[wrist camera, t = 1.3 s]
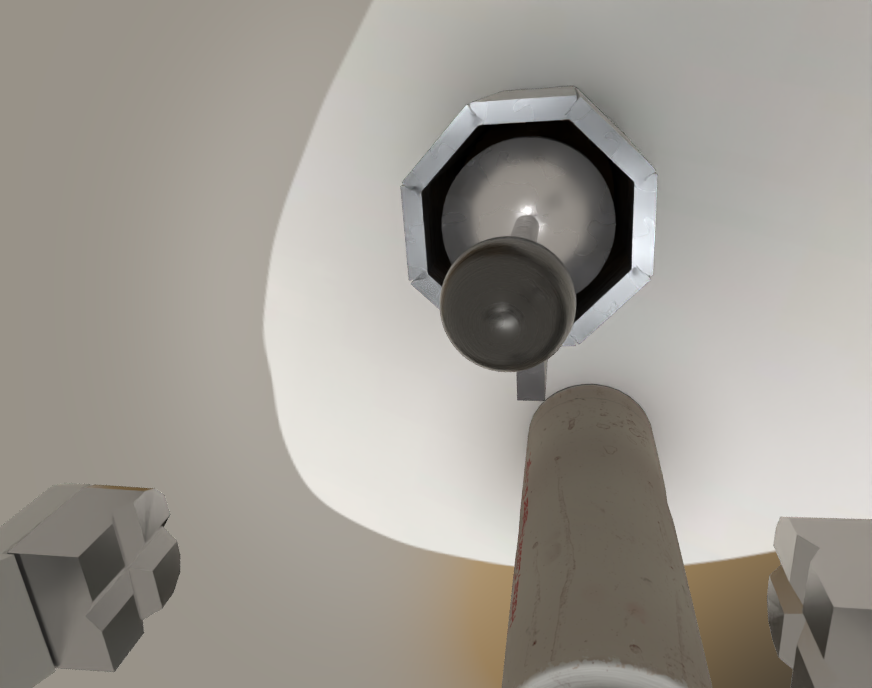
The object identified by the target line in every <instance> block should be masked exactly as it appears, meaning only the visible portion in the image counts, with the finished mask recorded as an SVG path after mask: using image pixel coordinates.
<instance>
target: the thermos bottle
mask: <svg viewBox="0 0 872 688" xmlns="http://www.w3.org/2000/svg"><path fill="white" fill-rule="evenodd" d="M502 688H712V684H711V679H710V675H709V671H708V667H707V663H706V658H705V654H704V650H703V645H702V641H701V637H700V633H699V629H698V624H697V620H696V616H695V612H694V607H693V603H692V599H691V594H690V590H689V586H688V581H687V577H686V573H685V569H684V564H683V560H682V556H681V552H680V547H679V543H678V539H677V535H676V531H675V526H674V523H673V519H672V516H671V513H670V510H669V507H668V504H667V497H666V490H665V484H664V480H663V475H662V471H661V467H660V462H659V458H658V454H657V450H656V445H655V441H654V437H653V433H652V428H651V424H650V422H649V420H648V418H647V416H646V414H645V412H644V411H643V410H642V408H641V407H640V406H639V405H638V404H637V403H636V402H635V401H634V400H633V399H631V398H630V397H629V396H627V395H625V394H624V393H622V392H620V391H618V390H615V389H612V388H609V387H606V386H600V385H579V386H574V387H569V388H567V389H564V390H562V391H559V392H557V393H556V394H554V395H552V396H551V397H549V398H548V399H547V400H546V401H545V402H544V403H543V404H542V405H541V406H540V407H539V408H538V410H537V411H536V413H535V414H534V416H533V418H532V421H531V423H530V428H529V434H528V442H527V452H526V461H525V471H524V480H523V490H522V499H521V509H520V522H519V534H518V543H517V551H516V558H515V567H514V576H513V586H512V595H511V604H510V615H509V623H508V633H507V643H506V652H505V662H504V672H503V681H502Z"/></svg>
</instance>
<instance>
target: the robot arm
mask: <svg viewBox="0 0 872 688" xmlns="http://www.w3.org/2000/svg"><path fill="white" fill-rule="evenodd" d="M169 516H170V511H169V508H168V505H167V501H166V498H165V495H164V494H163V493H161V492H160V491H158V490H156V489H155V488H140V487H126V486H110V485H90V484H75V483H63V484H57V485H52V486H51V487H50V488H48V489H47V490H46V491H45V492H43V493H42V494H41V495H40V496H38V497H37V498H36V499H35V500H33V501H32V502H31V503H30V504H28V505H27V506H26V507H25V508H23V509H22V510H21V511H20V512H19V513H17V514H16V515H15V516H13V517H12V518H11V519H10V520H8V521H7V522H6V523H4V524H3V525H2V526H1V527H0V688H33V687H34V686H35V685H37V684H38V683H40V682H41V681H42V680H44V679H45V678H47V677H48V676H50V675H51V674H53V673H54V672H55V668H61V669H75V670H90V671H105V672H115V671H116V669H117V668H118V667H119V665H120V664H121V663H122V661H123V660H124V659H125V657H126V656H127V655H128V653H129V652H130V651H131V649H132V648H133V647H134V646H135V644H136V643H137V642H138V640H139V639H140V638H141V636H142V635H143V634H144V627H143V620H144V619H145V618H147V617H149V616H150V615H152V614H154V613H155V612H157V611H159V610H160V609H162V608H163V607H164V605H165V604H166V602H167V601H168V600H169V598H170V597H171V596H172V594H173V592H174V590H175V587H176V584H177V580H178V577H179V574H180V552H179V547H178V543H177V540H176V539H175V538H174V537H173V536H172V535H171V534H170V533H169V532H168V531H167V530H166V529H165V528H164V526H165V524H166V522H167V520H168V518H169ZM774 548H775V550H776V552H777V555H778V557H779V559H780V562H781V564H782V565H780V566H779V567H778V568H777V569H776V570H775V571H774V572H773V573H772V574H771V575H770V576H769V585H768V595H767V603H768V620H769V626H770V630H771V635H772V640H773V642H774V645H775V648H776V651H777V654H778V657H779V658H780V659H781V660H782V661H784V662H785V663H786V664H787V665H788V666H790V667H791V668H792V669H793V674H792V681H791V688H872V519H845V518H811V517H780V519H779V521H778V524H777V526H776V531H775V538H774Z"/></svg>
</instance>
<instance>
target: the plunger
mask: <svg viewBox="0 0 872 688" xmlns="http://www.w3.org/2000/svg"><path fill="white" fill-rule="evenodd" d="M615 225H616V223H615V210H614V204H613V200H612V197H611V194H610V191H609V188H608V186H607V184H606V182H605V180H604V178H603V176H602V174H601V173H600V171H599V170H598V169H597V167H596V166H595V165H594V164H593V163H592V162H591V161H590V159H589V158H587V157H586V156H585V155H584V154H583V153H581V152H580V151H579V150H577V149H575V148H574V147H572V146H571V145H568V144H566V143H564V142H562V141H559V140H556V139H552V138H548V137H542V136H520V137H513V138H509V139H506V140H502V141H500V142H498V143H495V144H493V145H491V146H489V147H487V148H486V149H484V150H482V151H481V152H480V153H478V154H477V155H476V156H475V157H473V158H472V159H471V160H470V161H469V162H468V163H467V164H466V165H465V166H464V167H463V168H462V170H461V171H460V172H459V174H458V175H457V176H456V178H455V180H454V181H453V183H452V185H451V187H450V189H449V191H448V194H447V196H446V199H445V203H444V207H443V214H442V235H443V242H444V245H445V249H446V252H447V255H448V257H449V260H450V262H451V264H452V266H451V267H450V269H449V271H448V272H447V275H446V277H445V279H444V282H443V285H442V289H441V293H440V315H441V321H442V324H443V327H444V330H445V332H446V334H447V336H448V338H449V339H450V341H451V343H452V344H453V345H454V347H455V348H456V349H457V350H458V351H459V352H460V353H461V354H462V355H463V356H464V357H465V358H467V359H468V360H469V361H471V362H473V363H474V364H476V365H478V366H480V367H483V368H486V369H489V370H493V371H498V372H517V371H523V370H526V369H530V368H532V367H535V366H537V365H539V364H541V363H542V362H544V361H546V360H547V359H549V358H550V357H551V356H552V355H554V354H555V353H556V352H557V351H558V350H559V348H560V347H561V346H562V344H563V343H564V342H565V340H566V339H567V337H568V335H569V333H570V331H571V329H572V326H573V323H574V318H575V313H576V294H577V293H579V292H580V291H582V290H583V289H584V288H585V287H586V286H588V285H589V284H590V283H591V281H592V280H593V279H594V278H595V277H596V276H597V275H598V273H599V272H600V270H601V269H602V268H603V266H604V264H605V262H606V260H607V258H608V256H609V253H610V251H611V248H612V244H613V240H614V236H615Z"/></svg>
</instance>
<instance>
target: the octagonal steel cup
mask: <svg viewBox="0 0 872 688" xmlns="http://www.w3.org/2000/svg"><path fill="white" fill-rule="evenodd" d="M520 136H542V137H548V138H552V139H556V140H559V141H562V142H564V143H566V144H568V145H571V146H572V147H574V148H575V149H577V150H579V151H580V152H581V153H583V154H584V155H585V156H586V157H587V158H589V159H590V161H591V162H592V163H593V164H594V165H595V166H596V167H597V169H598V170H599V171H600V173H601V174H602V176H603V178H604V180H605V182H606V184H607V186H608V188H609V191H610V194H611V197H612V200H613V204H614V210H615V223H616V225H615V236H614V240H613V244H612V248H611V251H610V253H609V256H608V258H607V260H606V262H605V264H604V266H603V268H602V269H601V270H600V272H599V273H598V275H597V276H596V277H595V278H594V279H593V280H592V281H591V283H590V284H589V285H588V286H586V287H585V288H584V289H583V290H582V291H580V292H579V293H577V294H576V313H575V318H574V323H573V326H572V329H571V331H570V333H569V335H568V337H567V339H566V340H565V342H564V343H563V344H562V346H576V342H577V343H578V344H580V343H581V342H583V341H584V340H585V339H586V338H587V337H588V336H589V335H590V334H591V333H592V332H594V331H595V330H596V329H597V328H598V327H599V326H600V325H601V324H602V323H604V322H605V321H606V320H607V319H608V318H609V317H610V316H611V315H612V314H613V313H615V312H616V311H617V310H618V309H619V308H620V307H621V306H622V305H623V304H625V303H626V302H627V301H628V300H629V299H630V298H631V297H632V296H633V295H634V294H636V293H637V292H638V291H639V290H640V289H641V288H642V287H643V286H644V285H646V284H647V283H648V282H649V281H650V280H651V278H650V276H653V266H654V244H655V223H656V201H657V180H658V174H657V173H656V172H655V171H656V170H655V168H654V167H653V166H652V165H651V164H650V163H649V162H648V160H647V159H646V158H645V157H644V156H643V155H642V154H641V152H640V151H639V150H638V149H637V148H636V147H635V146H634V144H633V143H632V142H631V141H630V140H629V139H628V138H627V136H626V135H625V134H624V133H623V132H622V131H621V130H620V129H619V128H618V127H617V126H615V125H614V124H613V123H612V122H611V121H610V120H609V119H608V118H607V117H606V116H605V115H604V114H603V113H602V112H601V111H600V110H599V109H598V108H597V107H596V106H595V105H594V104H593V103H592V102H591V101H590V100H589V99H588V98H587V97H586V96H585V95H584V94H583V93H582V92H581V91H580V90H579V89H578V88H577V87H575V88H574V87H573V86H563V87H549V88H535V89H521V90H508V91H501V92H498V93H496V94H493V95H490V96H487V97H484V98H482V99H479V100H476V101H473V102H471V103H470V104H467V105H466V106H465V107H464V108H463V109H462V111H461V112H460V113H459V114H458V115H457V117H456V118H455V119H454V120H453V121H452V123H451V124H450V125H449V126H448V127H447V129H446V130H445V131H444V132H443V133H442V135H441V136H440V137H439V138H438V139H437V141H436V142H435V143H434V144H433V145H432V147H431V148H430V149H429V150H428V152H427V153H426V154H425V155H424V156H423V158H422V159H421V160H420V161H419V162H418V164H417V165H416V166H415V167H414V168H413V170H412V171H411V172H410V173H409V174H408V176H407V177H406V178H405V179H404V180H403V182H402V183H403V185H402V186H401V197H402V208H403V219H404V230H405V242H406V253H407V264H408V275H409V280H413V281H412V283H411V284H412V285H413V286H414V287H415V288H416V289H417V290H418V291H419V292H421V293H422V294H423V295H424V296H425V297H426V298H427V299H428V300H430V301H431V302H432V303H433V304H434V305H435V306H436V307H437V308H438V309H440V293H441V289H442V285H443V282H444V279H445V277H446V275H447V272H448V271H449V269H450V267H451V266H452V264H451V262H450V260H449V257H448V255H447V252H446V249H445V245H444V242H443V235H442V214H443V207H444V203H445V199H446V196H447V194H448V191H449V189H450V187H451V185H452V183H453V181H454V180H455V178H456V176H457V175H458V174H459V172H460V171H461V170H462V168H463V167H464V166H465V165H466V164H467V163H468V162H469V161H470V160H471V159H472V158H473V157H475V156H476V155H477V154H478V153H480V152H481V151H482V150H484V149H486V148H487V147H489V146H491V145H493V144H495V143H498V142H500V141H502V140H506V139H509V138H513V137H520ZM547 361H548V359H547V360H546V361H544V362H542V363H541V364H539V365H537V366H535V367H532V368H530V369H526V370H523V371H517V400H532V401H545V391H546V376H547Z"/></svg>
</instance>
